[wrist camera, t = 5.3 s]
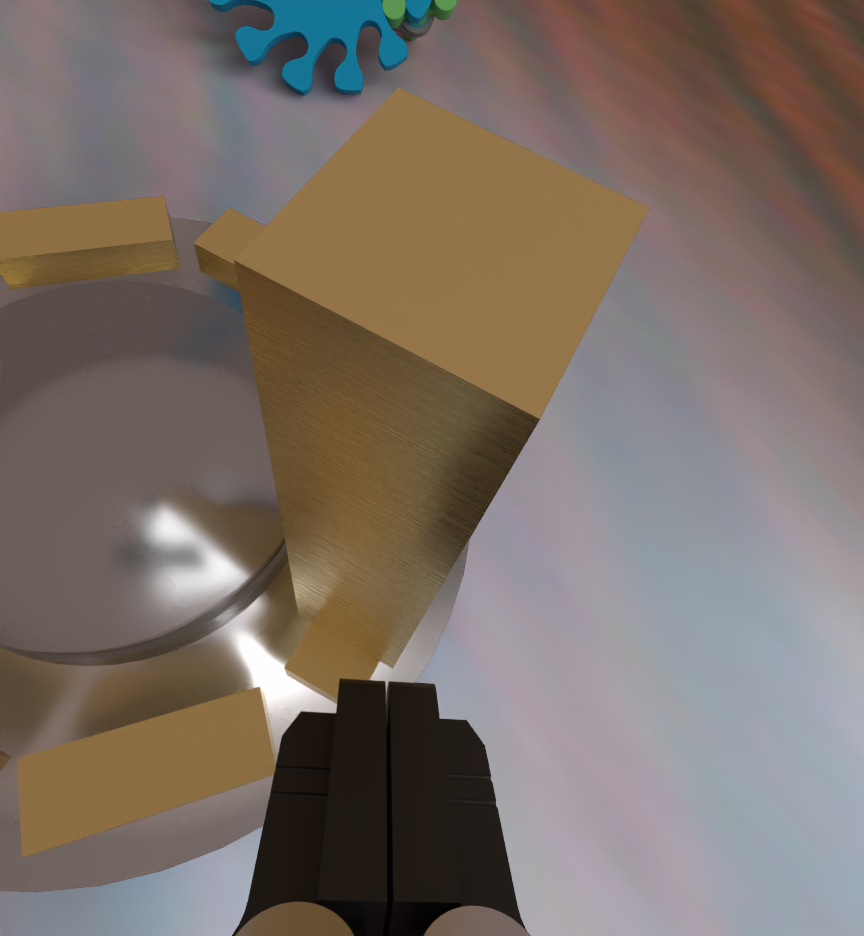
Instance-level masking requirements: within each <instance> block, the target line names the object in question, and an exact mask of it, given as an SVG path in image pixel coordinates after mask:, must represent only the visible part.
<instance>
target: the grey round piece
mask: <svg viewBox="0 0 864 936" xmlns="http://www.w3.org/2000/svg"><path fill="white" fill-rule="evenodd" d="M170 219H171V223H172V227H173V232H174V237H175V242H176V247H177V252H178V257H179V262H180V267H181V268H178V269H170V270H162V271H154V272H146V273H138V274H130V275H123V276H115V277H107V278H99V279H91V280H83V281H75V282H67V283H59V284H51V285H43V286H35V287H27V288H19V289H10V288H9V286H8V285H7V283H6V282H5V280H4V278H3V277H2V275H1V274H0V750H1V751H3V752H5V753H6V754H8V755H10V756H11V758H10V759H9V761H8V762H7V763H6V765H5V766H4V767H3V768H2V770H1V771H0V891H20V892H44V891H53V890H63V889H73V888H82V887H92V886H102V885H106V884H110V883H114V882H118V881H122V880H126V879H130V878H134V877H138V876H143V875H147V874H151V873H155V872H159V871H163V870H166V869H169V868H171V867H174V866H176V865H179V864H182V863H184V862H187V861H189V860H192V859H194V858H197V857H200V856H202V855H205V854H207V853H210V852H212V851H215V850H218V849H220V848H223V847H225V846H227V845H229V844H230V843H232V842H234V841H236V840H238V839H240V838H241V837H243V836H245V835H247V834H249V833H251V832H252V831H254V830H256V829H258V828H260V827H262V826H263V825H264V820H265V816H266V811H267V806H268V801H269V798H270V791H271V786H272V781H273V777H274V776H272V777H269V778H266V779H263V780H260V781H257V782H254V783H251V784H248V785H245V786H242V787H239V788H236V789H233V790H230V791H227V792H224V793H221V794H218V795H215V796H212V797H209V798H206V799H203V800H200V801H197V802H194V803H191V804H188V805H184V806H181V807H178V808H175V809H172V810H169V811H166V812H163V813H160V814H157V815H154V816H151V817H148V818H145V819H142V820H139V821H136V822H133V823H130V824H127V825H124V826H121V827H118V828H115V829H112V830H109V831H106V832H103V833H100V834H97V835H94V836H91V837H88V838H85V839H82V840H79V841H76V842H73V843H70V844H67V845H64V846H61V847H58V848H55V849H52V850H49V851H46V852H42V853H38V854H34V855H30V856H26V857H22V847H21V827H20V807H19V788H18V768H17V758H19V757H22V756H26V755H29V754H33V753H36V752H39V751H43V750H46V749H50V748H53V747H56V746H60V745H63V744H66V743H70V742H73V741H77V740H80V739H83V738H87V737H90V736H94V735H97V734H100V733H104V732H107V731H111V730H114V729H117V728H121V727H124V726H128V725H131V724H134V723H138V722H141V721H144V720H148V719H151V718H155V717H158V716H161V715H165V714H168V713H172V712H175V711H178V710H182V709H185V708H189V707H192V706H195V705H199V704H202V703H206V702H209V701H212V700H216V699H219V698H223V697H226V696H229V695H233V694H236V693H239V692H243V691H246V690H250V689H253V688H256V687H260V688H261V689H262V690H263V692H264V693H265V698H266V703H267V708H268V713H269V718H270V723H271V728H272V733H273V738H274V743H275V748H276V753H277V757H278V752H279V747H280V742H281V738H282V735H283V734H284V732H285V731H286V730H287V729H288V727H289V726H290V725H291V724H292V722H293V721H294V720H295V718H296V717H297V716H298V715H299V713H300V712H301V711H305V712H323V713H336V709H337V704H335V703H333V702H332V701H330V700H328V699H327V698H325V697H323V696H321V695H320V694H318V693H316V692H314V691H313V690H311V689H309V688H308V687H306V686H304V685H302V684H301V683H299V682H297V681H296V680H294V679H292V678H290V677H289V676H287V675H286V672H285V670H284V667H285V665H286V663H287V662H288V660H289V658H290V657H291V655H292V654H293V652H294V650H295V649H296V647H297V645H298V644H299V642H300V641H301V639H302V637H303V636H304V634H305V632H306V631H307V629H308V628H309V626H310V624H311V623H312V622H310V621H308V620H306V619H305V618H303V617H301V616H299V615H298V609H297V604H296V598H295V593H294V587H293V582H292V576H291V571H290V565H289V560H288V554H287V549H286V543H285V538H284V532H283V527H282V521H281V516H280V510H279V505H278V499H277V494H276V488H275V483H274V478H273V472H272V467H271V461H270V456H269V450H268V445H267V439H266V434H265V428H264V423H263V417H262V412H261V406H260V401H259V395H258V390H257V384H256V379H255V373H254V368H253V362H252V357H251V351H250V346H249V340H248V335H247V329H246V324H245V318H244V313H243V307H242V302H241V296H240V292H239V291H237V290H235V289H233V288H231V287H229V286H227V285H225V284H223V283H221V282H220V281H218V280H216V279H214V278H212V277H210V276H208V275H206V274H204V273H202V272H201V271H200V267H199V263H198V260H197V256H196V252H195V248H194V244H193V243H194V242H195V241H196V240H197V239H198V238H199V237H200V236H201V235H202V234H203V233H204V232H205V231H206V230H207V229H208V228H209V227H210V226H211V225H212V224H213V223H207V222H200V221H193V220H187V219H174V218H170ZM468 545H469V540H468V542H467V544H466V545H465V547H464V549H463V551H462V552H461V554H460V556H459V557H458V559H457V561H456V562H455V564H454V566H453V568H452V569H451V571H450V573H449V574H448V576H447V578H446V579H445V581H444V583H443V584H442V586H441V588H440V590H439V591H438V593H437V595H436V596H435V598H434V600H433V601H432V603H431V605H430V607H429V608H428V610H427V612H426V613H425V615H424V617H423V618H422V620H421V622H420V624H419V625H418V627H417V629H416V630H415V632H414V634H413V635H412V637H411V639H410V640H409V642H408V644H407V646H406V647H405V649H404V651H403V652H402V654H401V656H400V657H399V659H398V661H397V663H396V664H395V666H394V668H393V669H392V668H390V667H389V666H387V665H385V664H383V663H382V662H380V663H379V665H378V666H377V668H376V670H375V672H374V674H373V676H372V677H371V679H370V680H375V681H385V683H386V693H387V686H388V682H389V681H395V682H411V683H416V681H417V680H418V678H419V677H420V675H421V673H422V672H423V670H424V669H425V667H426V666H427V664H428V662H429V661H430V659H431V657H432V655H433V653H434V650H435V648H436V646H437V644H438V642H439V640H440V638H441V635H442V633H443V631H444V629H445V627H446V625H447V623H448V621H449V618H450V616H451V613H452V609H453V606H454V603H455V600H456V597H457V594H458V590H459V587H460V584H461V581H462V578H463V574H464V569H465V563H466V557H467V551H468Z"/></svg>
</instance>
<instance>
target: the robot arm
mask: <svg viewBox="0 0 864 936" xmlns="http://www.w3.org/2000/svg"><path fill="white" fill-rule="evenodd" d="M232 936H530V934H529V933H528V932H527V930H526V929H525V926H524V924H523V922H522V919H521V917H520V913H519V910H518V906H517V901H516V896H515V891H514V887H513V882H512V877H511V872H510V867H509V862H508V857H507V852H506V847H505V842H504V837H503V832H502V827H501V823H500V818H499V813H498V808H497V807H496V798H495V793H494V788H493V783H492V781H491V773H490V768H489V764H488V759H487V754H486V749H485V745H484V744H483V742H482V741H481V740H480V738H479V737H478V735H477V734H476V733H475V731H474V730H473V728H472V727H471V726H470V724H469V723H468V721H467V720H453V719H439V710H438V702H437V693H436V687H435V684H427V683H411V682H395V681H389V682H388V686H387V693H386V683H385V681H375V680H359V679H343V678H340V679H339V689H338V699H337V709H336V713H323V712H305V711H301V712H300V713H299V715H298V716H297V717H296V718H295V720H294V721H293V722H292V724H291V725H290V726H289V727H288V729H287V730H286V731H285V732H284V734H283V735H282V738H281V742H280V747H279V752H278V757H277V762H276V768H275V772H274V777H273V781H272V786H271V791H270V798H269V801H268V806H267V811H266V816H265V820H264V825H263V830H262V835H261V840H260V845H259V850H258V854H257V859H256V864H255V869H254V874H253V879H252V884H251V889H250V893H249V898H248V902H247V906H246V909H245V912H244V915H243V917H242V919H241V921H240V924H239V925H238V927H237V928H236V930H235V932H234V933H233V935H232Z"/></svg>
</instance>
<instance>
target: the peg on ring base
mask: <svg viewBox="0 0 864 936" xmlns="http://www.w3.org/2000/svg"><path fill="white" fill-rule="evenodd" d="M648 210H649V208H648V207H646V206H644V205H642V204H640V203H638V202H636V201H634V200H632V199H630V198H628V197H626V196H623V195H621V194H619V193H617V192H615V191H613V190H611V189H609V188H607V187H605V186H603V185H601V184H598V183H596V182H594V181H592V180H590V179H588V178H586V177H584V176H582V175H580V174H578V173H576V172H574V171H571V170H569V169H567V168H565V167H563V166H561V165H559V164H557V163H555V162H553V161H551V160H549V159H546V158H544V157H542V156H540V155H538V154H536V153H534V152H532V151H530V150H528V149H526V148H524V147H521V146H519V145H517V144H515V143H513V142H511V141H509V140H507V139H505V138H503V137H501V136H499V135H496V134H494V133H492V132H490V131H488V130H486V129H484V128H482V127H480V126H478V125H476V124H474V123H471V122H469V121H467V120H465V119H463V118H461V117H459V116H457V115H455V114H453V113H451V112H449V111H447V110H444V109H442V108H440V107H438V106H436V105H434V104H432V103H430V102H428V101H426V100H424V99H422V98H419V97H417V96H415V95H413V94H411V93H409V92H407V91H405V90H403V89H401V88H399V87H398V88H397V89H396V90H395V91H394V93H393V94H392V95H391V96H390V97H389V98H388V99H387V100H386V101H385V102H384V103H383V104H382V105H381V106H380V107H379V108H378V109H377V110H376V111H375V112H374V113H373V115H372V116H371V117H370V118H369V119H368V120H367V121H366V122H365V123H364V124H363V125H362V126H361V127H360V128H359V129H358V130H357V131H356V132H355V133H354V134H353V136H352V137H351V138H350V139H349V140H348V141H347V142H346V143H345V144H344V145H343V146H342V147H341V148H340V149H339V150H338V151H337V152H336V153H335V154H334V155H333V156H332V158H331V159H330V160H329V161H328V162H327V163H326V164H325V165H324V166H323V167H322V168H321V169H320V170H319V171H318V172H317V173H316V174H315V175H314V176H313V177H312V179H311V180H310V181H309V182H308V183H307V184H306V185H305V186H304V187H303V188H302V189H301V190H300V191H299V192H298V193H297V194H296V195H295V196H294V197H293V198H292V200H291V201H290V202H289V203H288V204H287V205H286V206H285V207H284V208H283V209H282V210H281V211H280V212H279V213H278V214H277V215H276V216H275V217H274V218H273V219H272V220H271V222H270V223H269V224H268V225H267V226H264V225H262V224H260V223H258V222H257V221H255V220H253V219H251V218H249V217H247V216H245V215H243V214H241V213H239V212H237V211H235V210H233V209H231V208H229V209H228V210H227V211H226V212H225V213H223V214H222V215H221V216H220V217H219V218H218V219H217V220H216V221H215V222H214V223H213V224H212V225H211V226H210V227H209V228H208V229H207V230H206V231H205V232H204V233H203V234H202V235H201V236H200V237H199V238H198V239H197V240H196V241H195V242H194V243H193V244H194V248H195V252H196V256H197V260H198V263H199V267H200V271H201V272H202V273H204V274H206V275H208V276H210V277H212V278H214V279H216V280H218V281H220V282H221V283H223V284H225V285H227V286H229V287H231V288H233V289H235V290H237V291H239V292H240V296H241V302H242V307H243V313H244V318H245V324H246V329H247V335H248V340H249V346H250V351H251V357H252V362H253V368H254V373H255V379H256V384H257V390H258V395H259V401H260V406H261V412H262V417H263V423H264V428H265V434H266V439H267V445H268V450H269V456H270V461H271V467H272V472H273V478H274V483H275V488H276V494H277V499H278V505H279V510H280V516H281V521H282V527H283V532H284V538H285V543H286V549H287V554H288V560H289V565H290V571H291V576H292V582H293V587H294V593H295V598H296V604H297V609H298V615H299V616H301V617H303V618H305V619H306V620H308V621H310V622H312V623H311V624H310V626H309V628H308V629H307V631H306V632H305V634H304V636H303V637H302V639H301V641H300V642H299V644H298V645H297V647H296V649H295V650H294V652H293V654H292V655H291V657H290V658H289V660H288V662H287V663H286V665H285V667H284V670H285V672H286V675H287V676H289V677H290V678H292V679H294V680H296V681H297V682H299V683H301V684H302V685H304V686H306V687H308V688H309V689H311V690H313V691H314V692H316V693H318V694H320V695H321V696H323V697H325V698H327V699H328V700H330V701H332V702H333V703H335V704H337V699H338V689H339V679H340V678H343V679H359V680H370V679H371V677H372V676H373V674H374V672H375V670H376V668H377V666H378V665H379V663H380V662H382V663H383V664H385V665H387V666H389V667H390V668H392V669H393V668H394V666H395V664H396V663H397V661H398V659H399V657H400V656H401V654H402V652H403V651H404V649H405V647H406V646H407V644H408V642H409V640H410V639H411V637H412V635H413V634H414V632H415V630H416V629H417V627H418V625H419V624H420V622H421V620H422V618H423V617H424V615H425V613H426V612H427V610H428V608H429V607H430V605H431V603H432V601H433V600H434V598H435V596H436V595H437V593H438V591H439V590H440V588H441V586H442V584H443V583H444V581H445V579H446V578H447V576H448V574H449V573H450V571H451V569H452V568H453V566H454V564H455V562H456V561H457V559H458V557H459V556H460V554H461V552H462V551H463V549H464V547H465V545H466V544H467V542H468V540H469V539H470V537H471V535H472V534H473V532H474V530H475V529H476V527H477V525H478V523H479V522H480V520H481V518H482V517H483V515H484V513H485V512H486V510H487V508H488V506H489V505H490V503H491V501H492V500H493V498H494V496H495V495H496V493H497V491H498V489H499V488H500V486H501V484H502V483H503V481H504V479H505V478H506V476H507V474H508V473H509V471H510V469H511V467H512V466H513V464H514V462H515V461H516V459H517V457H518V456H519V454H520V452H521V450H522V449H523V447H524V445H525V444H526V442H527V440H528V439H529V437H530V435H531V433H532V432H533V430H534V428H535V427H536V425H537V423H538V422H539V420H540V418H541V416H542V414H543V412H544V410H545V408H546V407H547V405H548V403H549V401H550V399H551V397H552V395H553V393H554V391H555V389H556V387H557V385H558V383H559V381H560V379H561V378H562V376H563V374H564V372H565V370H566V368H567V366H568V364H569V362H570V360H571V358H572V356H573V354H574V352H575V351H576V349H577V347H578V345H579V343H580V341H581V339H582V337H583V335H584V333H585V331H586V329H587V327H588V325H589V323H590V322H591V320H592V318H593V316H594V314H595V312H596V310H597V308H598V306H599V304H600V302H601V300H602V298H603V296H604V295H605V293H606V291H607V289H608V287H609V285H610V283H611V281H612V279H613V277H614V275H615V273H616V271H617V269H618V267H619V266H620V264H621V262H622V260H623V258H624V256H625V254H626V252H627V250H628V248H629V246H630V244H631V242H632V240H633V239H634V237H635V235H636V233H637V231H638V229H639V227H640V225H641V223H642V221H643V219H644V217H645V215H646V213H647V212H648ZM178 268H181V267H180V262H179V257H178V252H177V247H176V242H175V237H174V232H173V227H172V223H171V219H170V216H169V212H168V209H167V205H166V202H165V198H164V196H160V197H150V198H139V199H129V200H119V201H109V202H98V203H88V204H78V205H68V206H57V207H47V208H37V209H27V210H16V211H6V212H0V274H1V275H2V277H3V278H4V280H5V282H6V283H7V285H8V286H9V288H10V289H19V288H27V287H35V286H43V285H51V284H59V283H67V282H75V281H83V280H91V279H99V278H107V277H115V276H123V275H130V274H138V273H146V272H154V271H162V270H170V269H178ZM10 758H11V756H10V755H8V754H6V753H5V752H3V751H1V750H0V771H1V770H2V768H3V767H4V766H5V765H6V763H7V762H8V761H9V759H10ZM276 762H277V753H276V748H275V743H274V738H273V733H272V728H271V723H270V718H269V713H268V708H267V703H266V698H265V693H264V692H263V690H262V689H261V688H260V687H256V688H253V689H250V690H246V691H243V692H239V693H236V694H233V695H229V696H226V697H223V698H219V699H216V700H212V701H209V702H206V703H202V704H199V705H195V706H192V707H189V708H185V709H182V710H178V711H175V712H172V713H168V714H165V715H161V716H158V717H155V718H151V719H148V720H144V721H141V722H138V723H134V724H131V725H128V726H124V727H121V728H117V729H114V730H111V731H107V732H104V733H100V734H97V735H94V736H90V737H87V738H83V739H80V740H77V741H73V742H70V743H66V744H63V745H60V746H56V747H53V748H50V749H46V750H43V751H39V752H36V753H33V754H29V755H26V756H22V757H19V758H17V768H18V788H19V807H20V827H21V847H22V857H26V856H30V855H34V854H38V853H42V852H46V851H49V850H52V849H55V848H58V847H61V846H64V845H67V844H70V843H73V842H76V841H79V840H82V839H85V838H88V837H91V836H94V835H97V834H100V833H103V832H106V831H109V830H112V829H115V828H118V827H121V826H124V825H127V824H130V823H133V822H136V821H139V820H142V819H145V818H148V817H151V816H154V815H157V814H160V813H163V812H166V811H169V810H172V809H175V808H178V807H181V806H184V805H188V804H191V803H194V802H197V801H200V800H203V799H206V798H209V797H212V796H215V795H218V794H221V793H224V792H227V791H230V790H233V789H236V788H239V787H242V786H245V785H248V784H251V783H254V782H257V781H260V780H263V779H266V778H269V777H272V776H274V772H275V768H276Z"/></svg>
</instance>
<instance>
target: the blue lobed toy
mask: <svg viewBox="0 0 864 936" xmlns="http://www.w3.org/2000/svg"><path fill="white" fill-rule="evenodd" d="M209 2H210V3H211V5H212V6H213V8H215V9H216V10H218V11H224V12H225V11H228V10H230V9H232V8H234V7H237V6H240V5H254V6H257V7H261V8H263V9H266V10H268V11H270V12H271V13H273V15H274V16H275V20H274V24H273V26H272V27H271V28H270V29H269V30H266V31H262V30H259V29H256V28H253V27H250V26H244V27H241V28H240V29H238V30H237V31H236V33H235V37H236V41H237V43H238V45H239V47H240V49H241V51H242V52H243V54H244V56H245V57H246V59H247V60H248V62H249V63H250V65H258V64H260V63H261V62H262V61H263V60H264V59H265V57H266V55H267V53H268V52H269V50H270V49H271V48H272V47H273V46H274V45H275V44H277V43H279V42H280V41H283V40H286V39H289V38H293V37H301V38H303V39H304V40H305V41H306V42H307V44H308V51H307V53H306V54H305V56H303V57H301V58H298V59H294V60H291V61H289V62H287V63H286V64H285V66H284V67H283V70H282V77H283V80H284V81H285V82H286V84H287V85H288V86H289V87H291V88H292V89H293V90H295V91H296V92H298V93H300V94H303V95H306V94H308V93H309V92H310V90H311V88H312V84H313V78H312V77H313V70H314V67H315V63H316V61H317V59H318V57H319V56H320V55H321V53H322V52H323V51H324V50H325V49H326V48H327V47H328V46H329V45H330V44H332V43H339V44H341V45H342V46H343V47H344V48H345V49H346V51H347V56H346V59H345V60H344V61H343V62H342V63H341V65H340V66H339V67H338V68H337V70H336V72H335V76H334V81H335V87H336V90H337V91H338V92H341V93H345V94H360V93H361V92H362V89H363V75H362V72H361V70H360V68H359V65H358V61H357V56H356V48H357V42H358V37H359V34H360V31H361V30H362V29H363V28H364V27H366V26H372V27H375V28H376V29H377V30H378V31H379V33H380V36H381V42H380V47H379V54H378V58H379V63H380V65H381V67H382V68H383V69H384V70H385V71H387V70H391V69H394V68H396V67H397V66H399V65H400V64H402V63H403V62H404V61H405V60H407V56H408V49H407V46H406V44H405V42H404V41H403V39H401V38H400V37H399V36H398V35H397V34H396V33H395V32H394V31H393V30H395V31H397V32H400V33H403V34H404V35H405V37H406V38H407V39H408V40H412V41H413V40H416V39H417V37H421V36H423V35H425V34H426V33H427V32H428V31H429V29H430V27H431V25H432V22H433V19H434V16H435V17H436V18H437V19H439V20H446V19H448V18H449V17H450V16H451V14H452V12H453V10H454V7H455V5H456V3H457V0H209Z"/></svg>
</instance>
